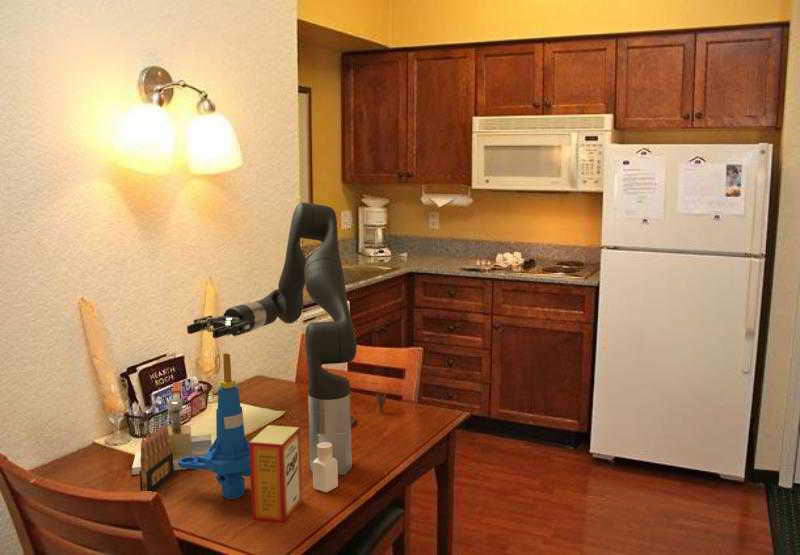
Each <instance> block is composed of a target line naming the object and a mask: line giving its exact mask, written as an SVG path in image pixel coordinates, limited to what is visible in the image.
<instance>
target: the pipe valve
mask: <svg viewBox="0 0 800 555" xmlns="http://www.w3.org/2000/svg"><path fill="white" fill-rule="evenodd" d="M170 421H171V425H170V426H167V427H168V432H169V439H170V445H171V452H172V453H173V461H174V460H179V459H181V458H183V457H189V456H193V457H196V456H204V455H205V454H207V452H208V451H209V450H210V448H211V446H212V445H213V443H212V434H211V433H210V434H200V435H199V434H198V435H192V427H191V424H184V425H182V422H181V421H182V420H181V410H178V411H170ZM145 442H146V440H145Z"/></svg>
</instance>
